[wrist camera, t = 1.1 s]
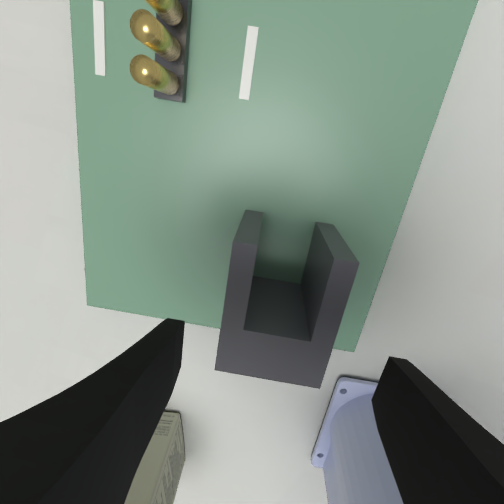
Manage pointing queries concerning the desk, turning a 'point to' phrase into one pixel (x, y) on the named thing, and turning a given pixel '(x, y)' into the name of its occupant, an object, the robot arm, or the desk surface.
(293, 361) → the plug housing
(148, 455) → the skincare box
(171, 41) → the pin header
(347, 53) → the circuit board
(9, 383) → the desk surface
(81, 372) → the desk surface
